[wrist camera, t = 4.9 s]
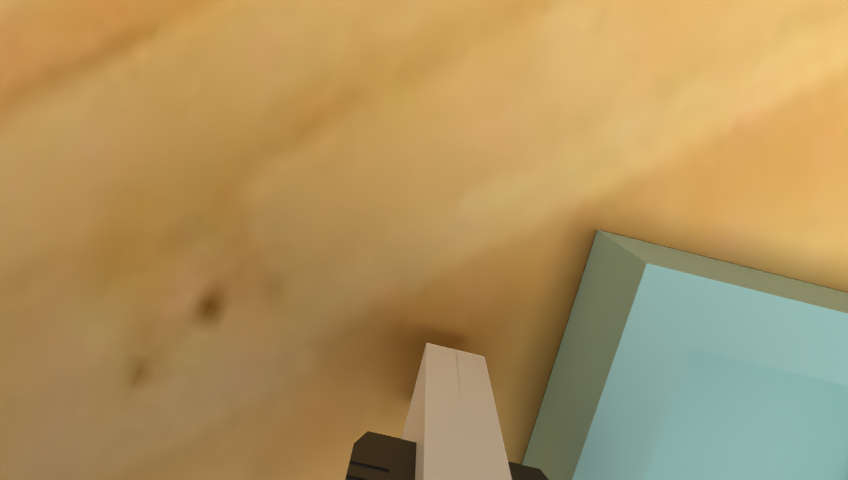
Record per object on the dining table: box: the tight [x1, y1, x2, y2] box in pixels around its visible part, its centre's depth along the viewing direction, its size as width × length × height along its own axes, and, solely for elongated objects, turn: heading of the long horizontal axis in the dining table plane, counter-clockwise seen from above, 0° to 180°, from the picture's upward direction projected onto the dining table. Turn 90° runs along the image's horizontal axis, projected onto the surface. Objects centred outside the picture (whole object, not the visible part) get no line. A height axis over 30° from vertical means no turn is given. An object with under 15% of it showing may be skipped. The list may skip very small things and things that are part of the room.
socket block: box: [522, 230, 848, 480], centre depth 15 cm, size 10×10×4 cm
